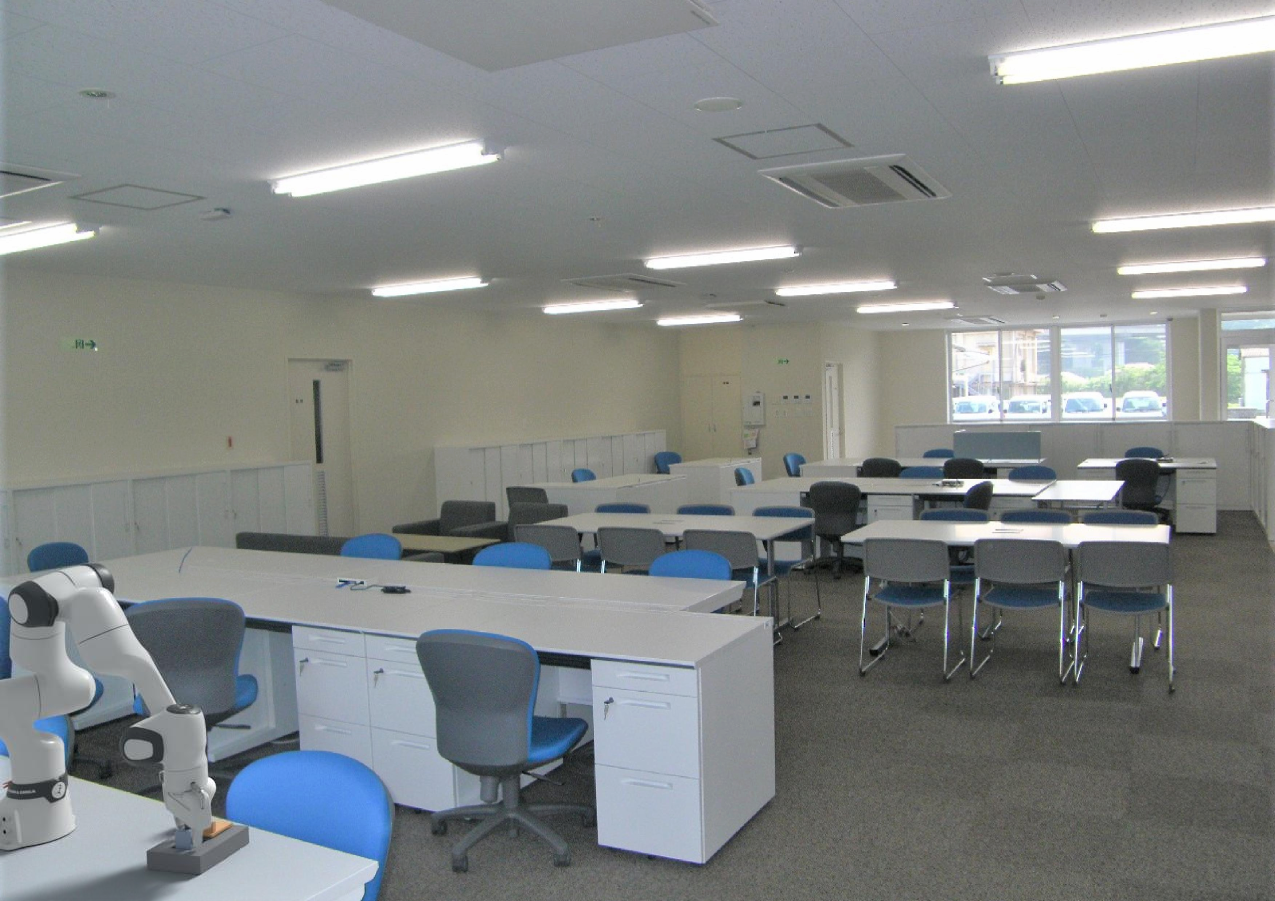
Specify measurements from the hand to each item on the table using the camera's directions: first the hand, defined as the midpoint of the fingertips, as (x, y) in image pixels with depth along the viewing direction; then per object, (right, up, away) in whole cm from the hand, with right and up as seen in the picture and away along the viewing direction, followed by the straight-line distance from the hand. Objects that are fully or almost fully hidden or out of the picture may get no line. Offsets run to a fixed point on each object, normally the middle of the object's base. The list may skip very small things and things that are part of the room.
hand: (189, 838), depth 212 cm
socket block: (+1, -5, +3) cm, 6 cm away
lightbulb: (-7, -5, +23) cm, 24 cm away
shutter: (+2, -1, +7) cm, 7 cm away
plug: (0, -5, 0) cm, 5 cm away
